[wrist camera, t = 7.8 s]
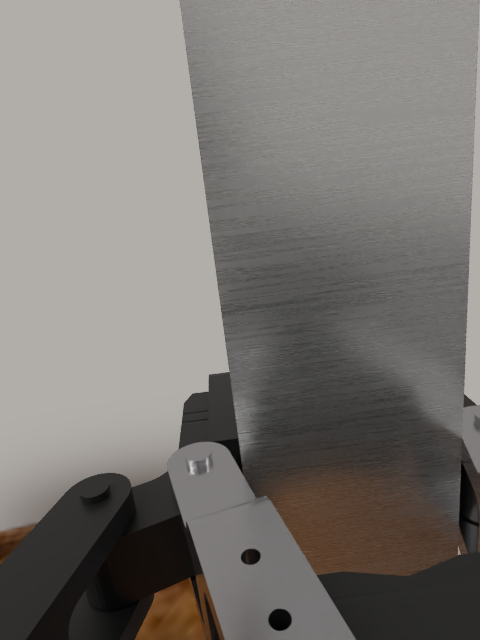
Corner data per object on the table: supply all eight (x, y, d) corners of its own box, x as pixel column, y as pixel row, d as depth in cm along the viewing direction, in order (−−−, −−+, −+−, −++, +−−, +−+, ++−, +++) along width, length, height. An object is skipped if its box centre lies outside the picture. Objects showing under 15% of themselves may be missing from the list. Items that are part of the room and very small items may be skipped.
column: (268, 888, 12) (65, -298, 5) (252, 693, 17) (135, -71, 10) (474, 855, 12) (562, -346, 5) (402, 670, 17) (396, -99, 10)
